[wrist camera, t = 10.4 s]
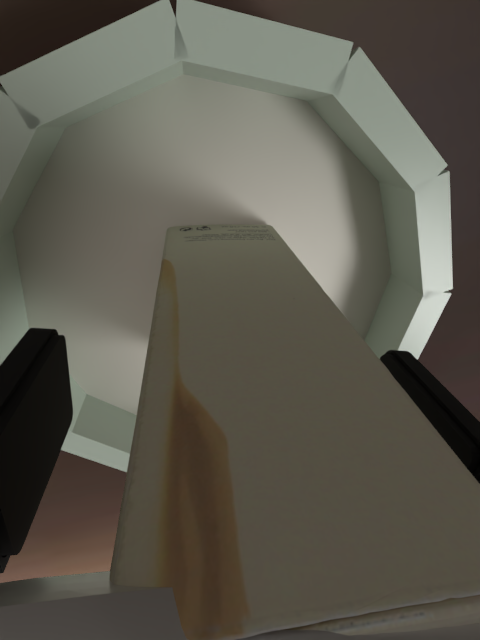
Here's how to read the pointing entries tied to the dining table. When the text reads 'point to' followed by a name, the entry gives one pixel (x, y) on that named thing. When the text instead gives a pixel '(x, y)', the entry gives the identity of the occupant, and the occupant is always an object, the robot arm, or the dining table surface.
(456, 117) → the dining table surface
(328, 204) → the round tray
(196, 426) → the skincare box
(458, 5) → the dining table surface
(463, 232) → the dining table surface
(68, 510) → the dining table surface
